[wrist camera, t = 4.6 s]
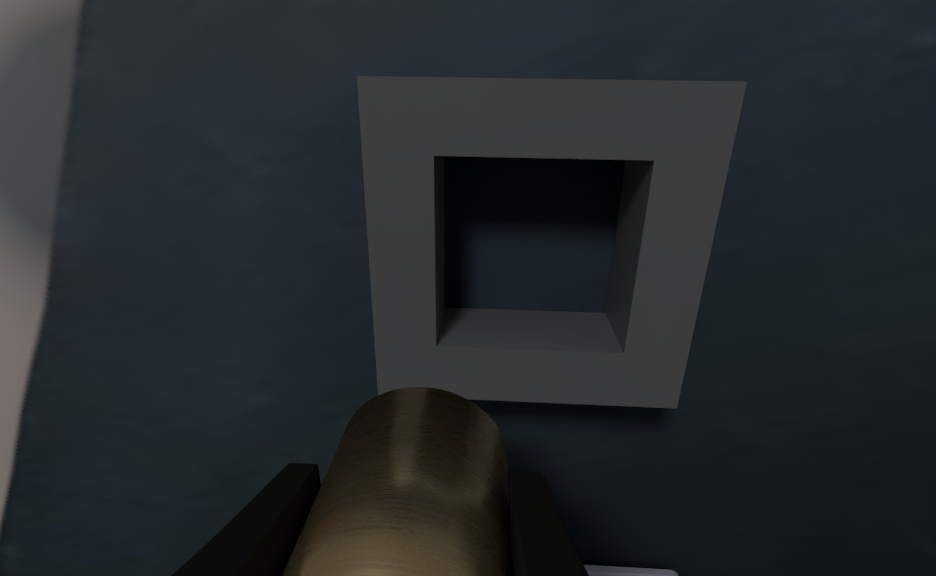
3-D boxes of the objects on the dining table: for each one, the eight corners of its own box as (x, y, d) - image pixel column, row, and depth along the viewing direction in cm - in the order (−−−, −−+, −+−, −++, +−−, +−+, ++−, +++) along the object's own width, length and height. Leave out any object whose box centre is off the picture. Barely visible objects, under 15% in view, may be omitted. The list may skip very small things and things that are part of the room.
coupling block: (650, 361, 19) (676, 408, 16) (394, 351, 20) (378, 395, 17) (701, 81, 15) (747, 81, 12) (381, 77, 16) (357, 75, 13)
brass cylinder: (499, 524, 13) (501, 869, 7) (344, 510, 13) (228, 840, 7) (515, 395, 11) (535, 708, 6) (339, 379, 11) (185, 672, 6)
